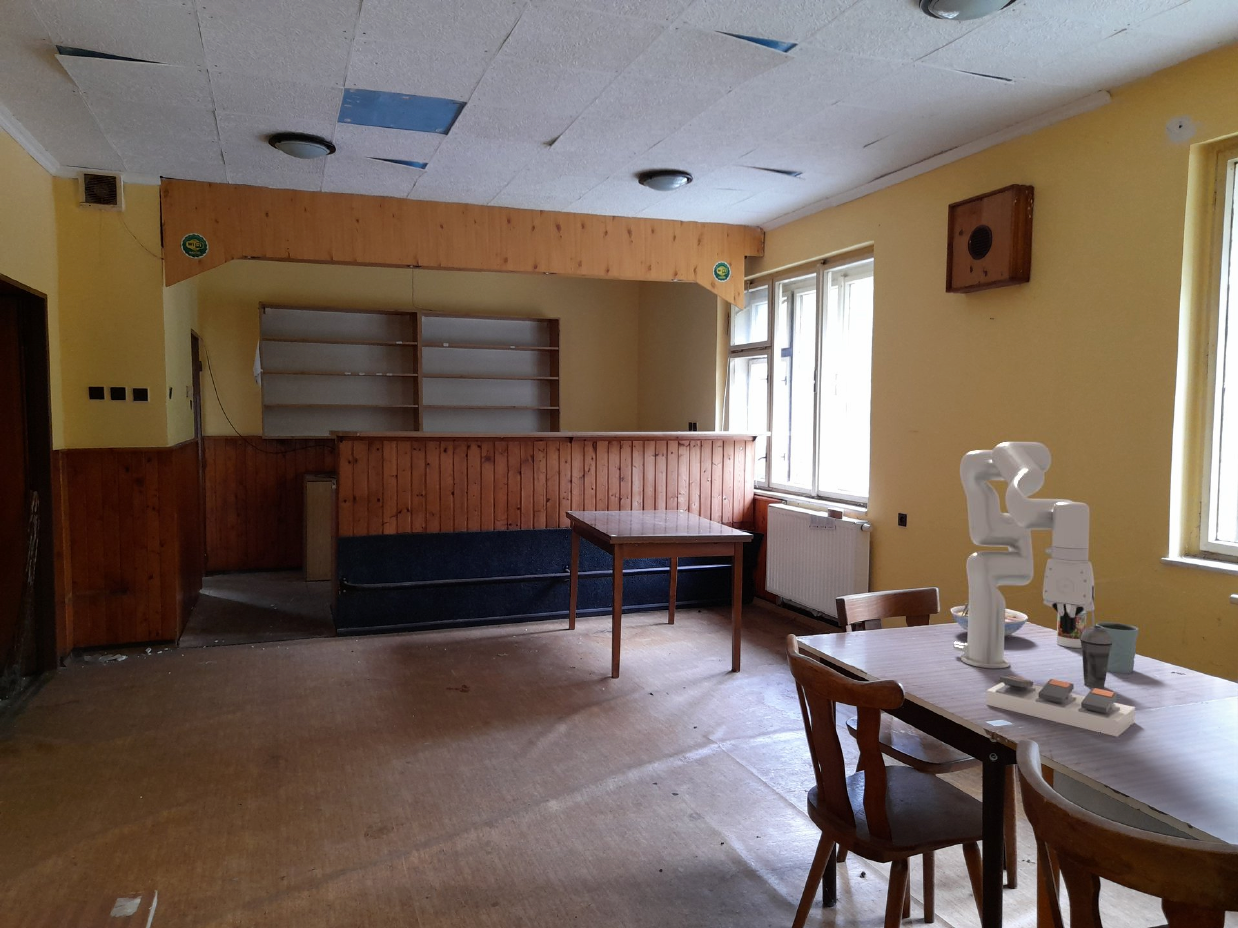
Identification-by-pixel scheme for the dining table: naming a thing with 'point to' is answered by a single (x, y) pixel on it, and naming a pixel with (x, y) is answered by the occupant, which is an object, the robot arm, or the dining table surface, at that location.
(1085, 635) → the beverage cup
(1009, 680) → the left rocker
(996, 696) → the rocker switch panel
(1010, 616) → the ramen bowl
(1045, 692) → the middle rocker
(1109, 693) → the right rocker
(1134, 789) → the dining table surface
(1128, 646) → the teal plant pot
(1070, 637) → the milk bottle
